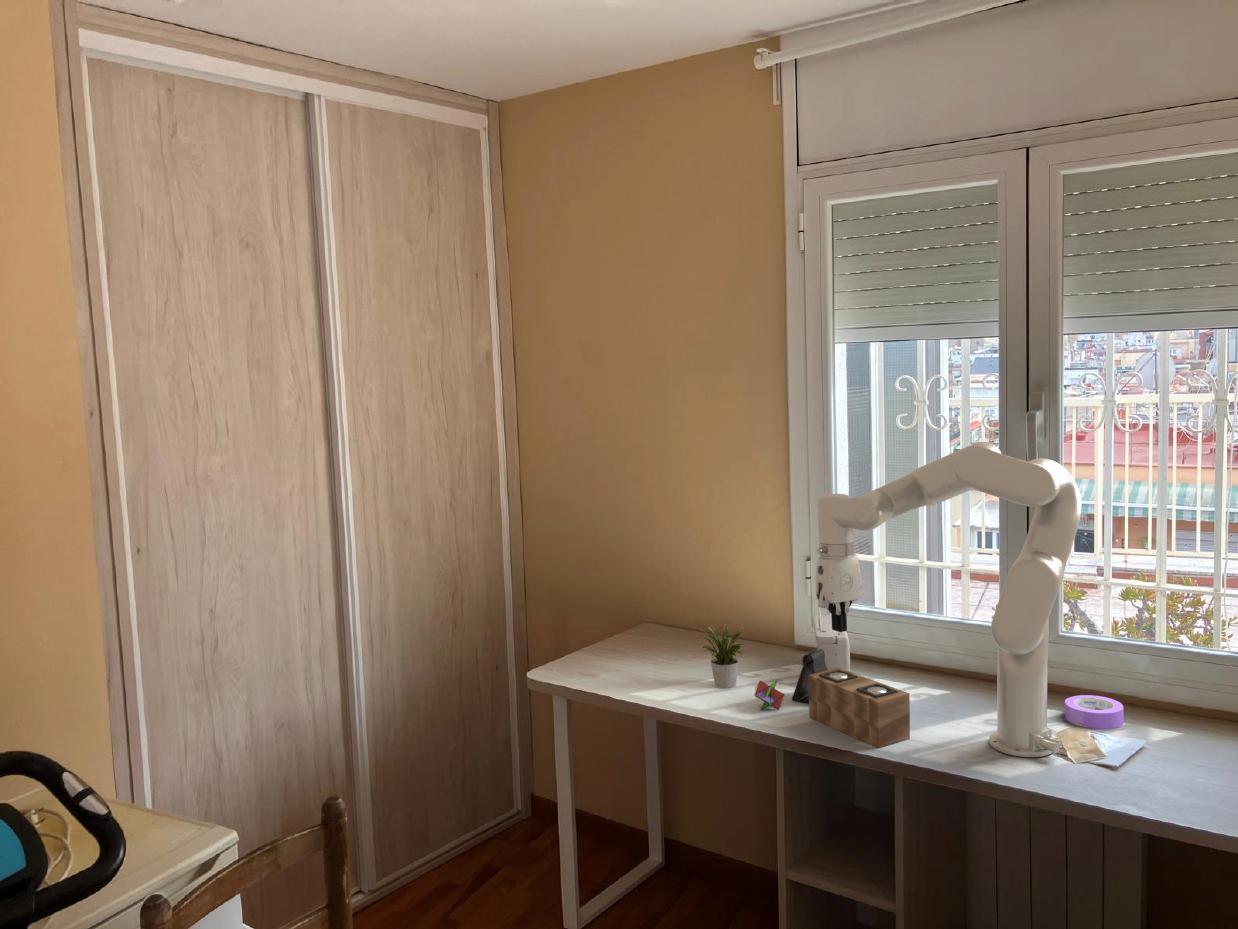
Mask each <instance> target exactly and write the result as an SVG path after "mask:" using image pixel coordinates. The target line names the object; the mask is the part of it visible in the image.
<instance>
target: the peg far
mask: <svg viewBox="0 0 1238 929" xmlns="http://www.w3.org/2000/svg"><path fill="white" fill-rule="evenodd" d="M829 677H832V678H834V679H837V680H839V679H843V678H847V677H848V675H847V674H845V673H831V674H830V675H829Z"/></svg>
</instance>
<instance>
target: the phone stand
mask: <svg viewBox="0 0 1238 929" xmlns="http://www.w3.org/2000/svg"><path fill="white" fill-rule="evenodd" d="M817 650H818V648H817V647H816V648H815V649H813V650H812V651H810V652H808V653H806V654H805V655H803V657H802V659H801V660H802V668H801V670H800V674H799V677H798V680H797V683H796V686H795V689H794V693H792V694H793V695H792V698H791V701H792V702H796V703H803V704H807V705H809V679H808V675H810V674H814V673H818V672H823V671H827V670H828V669H827V666H826V664H825V653H824V651H823V650H822V649H820V650H818V651H817Z"/></svg>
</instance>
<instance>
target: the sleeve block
mask: <svg viewBox="0 0 1238 929" xmlns="http://www.w3.org/2000/svg"><path fill="white" fill-rule="evenodd" d="M831 673H845V674H847V675H848V677H847V678H843V679H839V680H837V679H834V678H832V677H829V675H830V674H831ZM808 679H809V704H808V716H809V718H810V719H811V720H815V721H817V722H818V723H822V724H823V725H825V726H828V727H830V728H833V729H834V730H837V731H838V732H841V733H843V734H846V735H848V736H850V737H853V738H855V739H857V740H859V741H861V742H863V743H866V744H868V745H871V746H873V747H875V748H877V749H881V748H884V747H887V746H891V745H894V744H898V743H900V742H905V741H907V740H910V739H911V731H910V730H911V724H910V723H911V718H910V717H911V716H910V714H911V712H910V707H911V706H910V703H911V702H910V701H911V700H910V693H909V692H906V691H905V690H901V689H899V688H895V687H893V686H890V685H889V684H888V685H887V684H884V683H882V682H879V681H877V680H874V679H871V678H868V677H865V676H863V675H859V674H857V673H854V672H851V671H850V672H849V671H847V670H844V669H841V668H835V669H831V670H827V671H823V672H818V673H814V674H810V675H808ZM870 687H882V688H885V689H886V690H887V692H884V693H881V694H877V695H876V694H874V693H871V692H869V691H867V689H868V688H870Z"/></svg>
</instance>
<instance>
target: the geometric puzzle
mask: <svg viewBox="0 0 1238 929" xmlns="http://www.w3.org/2000/svg"><path fill="white" fill-rule="evenodd" d="M777 683H778V685H779V686H781V685H780V684H781V683H779V680H778V679H777V680H774V682H773V683H771V684H769V683H768V684H767V683H766V682H764V681H763V680H759V681H758V682H757V683H756V685H755V686H754V697H755V700H757V701H758V699H759V700H760V701H763V703H762V706H760V704H758V706H759V708H760V711H763V710H765V709H766V708H767V707H769V706H771V707H772V708H774V709H775V710H777V711H780V708H781V705H782V703H783V699H784V697H785V693H784V692H782V691H780V690H777V689H776V687H777ZM779 688H780V689H781V690H782V687H779Z"/></svg>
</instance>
